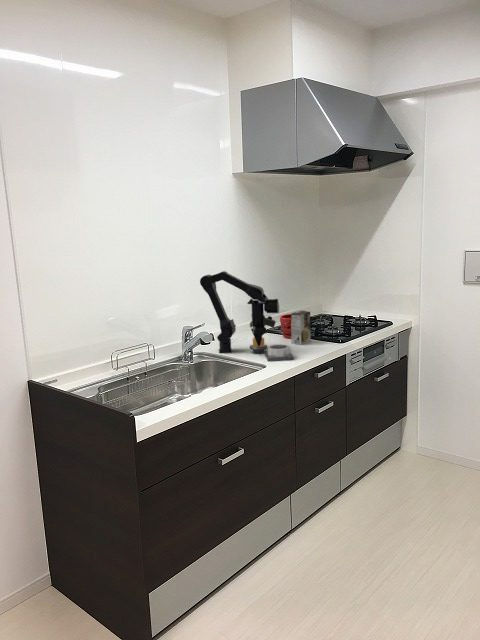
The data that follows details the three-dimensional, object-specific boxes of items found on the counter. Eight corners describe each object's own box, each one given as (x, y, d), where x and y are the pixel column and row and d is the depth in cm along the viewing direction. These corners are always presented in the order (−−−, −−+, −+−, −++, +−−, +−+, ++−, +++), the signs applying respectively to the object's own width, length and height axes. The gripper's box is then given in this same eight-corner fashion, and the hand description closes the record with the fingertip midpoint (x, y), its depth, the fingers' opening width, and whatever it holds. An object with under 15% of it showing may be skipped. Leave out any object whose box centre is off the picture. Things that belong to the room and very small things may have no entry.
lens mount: (264, 354, 259) (264, 344, 258) (289, 353, 260) (289, 343, 259) (267, 361, 247) (267, 350, 246) (293, 359, 248) (293, 349, 247)
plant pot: (283, 334, 303) (283, 313, 301) (307, 335, 299) (306, 313, 296) (277, 339, 291) (277, 317, 289) (301, 340, 287) (301, 318, 284)
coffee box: (300, 340, 287) (300, 310, 284) (311, 341, 283) (310, 311, 280) (291, 343, 280) (290, 313, 277) (301, 345, 276) (301, 314, 273)
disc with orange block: (248, 350, 269) (248, 336, 267) (266, 349, 269) (266, 335, 268) (250, 354, 260) (250, 340, 259) (269, 353, 261) (268, 339, 259)
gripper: (277, 315, 253) (277, 348, 255) (271, 309, 271) (272, 339, 274) (253, 316, 252) (254, 349, 255) (249, 310, 270) (250, 340, 273)
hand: (258, 344), depth 264 cm, fingers open, 4 cm apart
